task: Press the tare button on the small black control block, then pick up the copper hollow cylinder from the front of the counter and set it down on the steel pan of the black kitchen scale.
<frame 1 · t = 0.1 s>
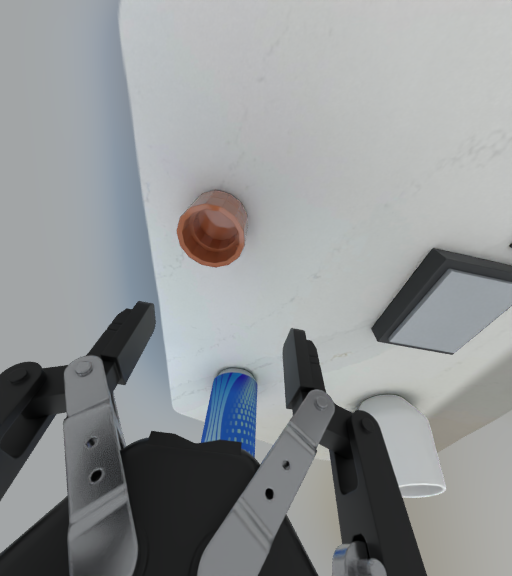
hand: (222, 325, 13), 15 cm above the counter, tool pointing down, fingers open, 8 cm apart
copper hollow cylinder: (219, 219, 25), on the counter
beer can: (236, 377, 44), on the counter
cup: (381, 404, 48), on the counter
scale: (438, 302, 31), on the counter
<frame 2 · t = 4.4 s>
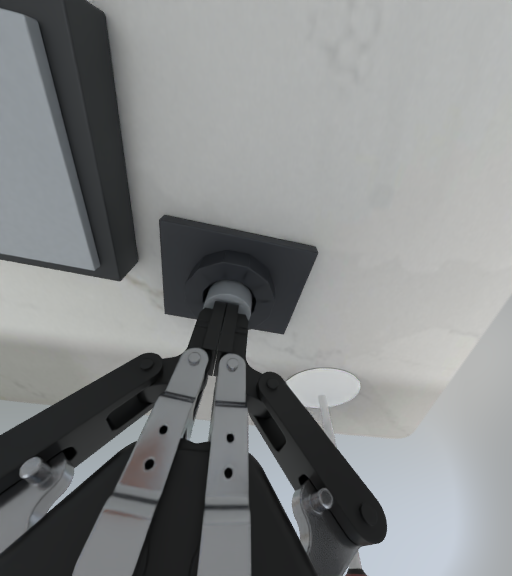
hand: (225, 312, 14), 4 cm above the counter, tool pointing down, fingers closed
wineglass: (320, 388, 26), on the counter
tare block: (233, 280, 17), on the counter
tare button: (228, 304, 15), point 3 cm above the counter, slide at 0.0 cm, touching gripper
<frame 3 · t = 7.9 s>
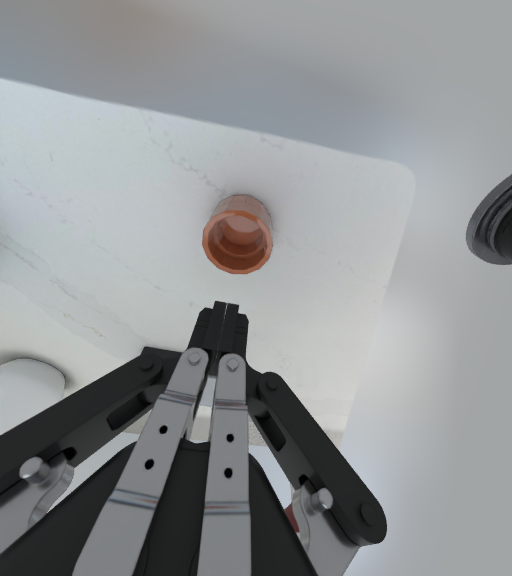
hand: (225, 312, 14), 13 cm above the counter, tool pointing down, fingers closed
copper hollow cylinder: (242, 224, 24), on the counter
tare button: (251, 414, 44), point 3 cm above the counter, slide at 0.1 cm
cup: (39, 371, 44), on the counter
scale: (185, 373, 42), on the counter
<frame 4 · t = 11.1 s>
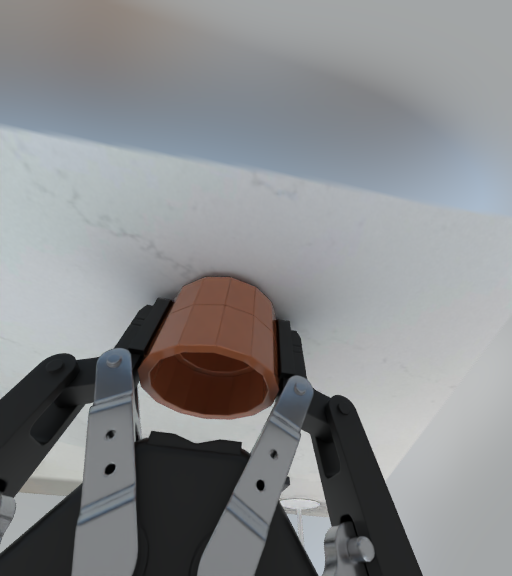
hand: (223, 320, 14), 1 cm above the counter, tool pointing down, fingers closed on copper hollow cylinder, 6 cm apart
copper hollow cylinder: (225, 312, 14), on the counter, touching gripper
wineglass: (298, 502, 46), on the counter
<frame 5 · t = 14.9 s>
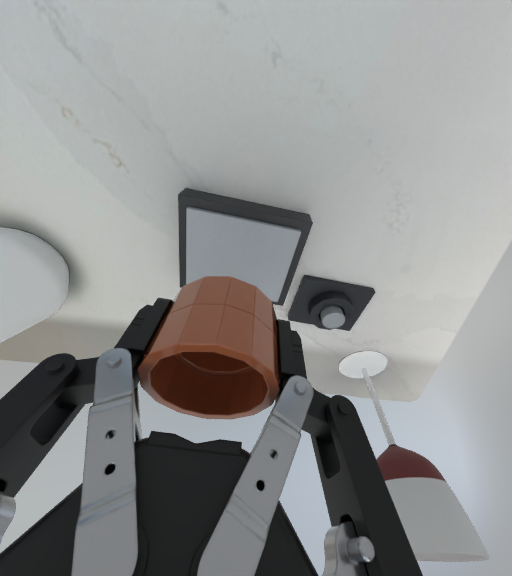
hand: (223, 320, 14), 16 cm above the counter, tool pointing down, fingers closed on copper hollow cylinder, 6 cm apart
copper hollow cylinder: (225, 312, 14), point 15 cm above the counter, touching gripper
wineglass: (362, 364, 42), on the counter
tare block: (328, 303, 33), on the counter
tare button: (332, 317, 31), point 3 cm above the counter, slide at 0.1 cm
cup: (34, 259, 31), on the counter
scale: (240, 249, 28), on the counter
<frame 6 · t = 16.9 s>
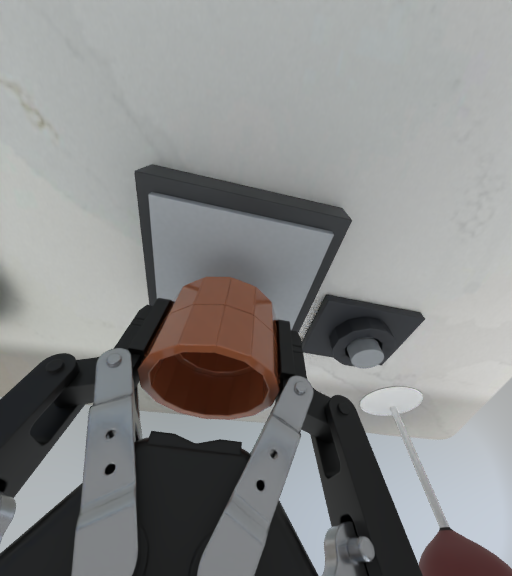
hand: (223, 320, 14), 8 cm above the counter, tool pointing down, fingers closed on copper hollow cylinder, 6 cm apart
copper hollow cylinder: (225, 312, 14), point 7 cm above the counter, touching gripper
wineglass: (389, 400, 33), on the counter
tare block: (355, 330, 24), on the counter
tare button: (364, 352, 22), point 3 cm above the counter, slide at 0.1 cm
scale: (237, 258, 20), on the counter
when the fingers open (4 cm above the counter, at t = 18.6 s): copper hollow cylinder stays where it is, resting on scale.
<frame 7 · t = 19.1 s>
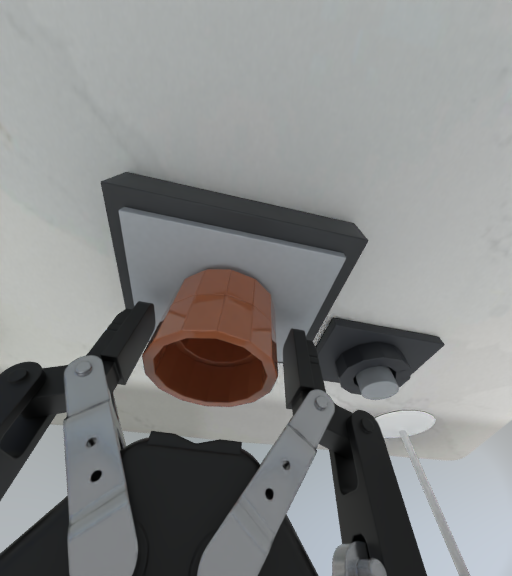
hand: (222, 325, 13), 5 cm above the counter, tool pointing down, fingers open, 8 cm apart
copper hollow cylinder: (225, 305, 15), point 3 cm above the counter, touching scale
wineglass: (399, 423, 31), on the counter
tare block: (364, 354, 22), on the counter
tare button: (376, 382, 20), point 3 cm above the counter, slide at 0.1 cm
scale: (231, 278, 17), on the counter
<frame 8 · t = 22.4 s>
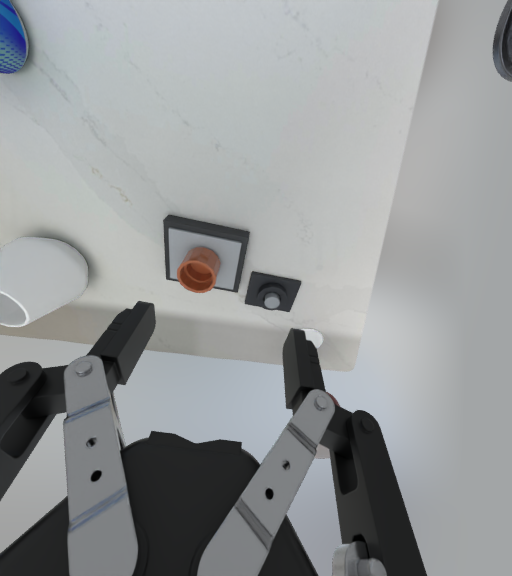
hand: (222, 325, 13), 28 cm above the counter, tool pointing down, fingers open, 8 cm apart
copper hollow cylinder: (203, 261, 40), point 3 cm above the counter, touching scale
wineglass: (305, 339, 56), on the counter
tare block: (271, 291, 47), on the counter
tare button: (272, 300, 45), point 3 cm above the counter, slide at 0.1 cm
cup: (64, 259, 45), on the counter
scale: (207, 253, 42), on the counter
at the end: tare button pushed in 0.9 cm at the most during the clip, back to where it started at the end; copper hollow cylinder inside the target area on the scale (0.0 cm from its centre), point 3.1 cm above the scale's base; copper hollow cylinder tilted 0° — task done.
